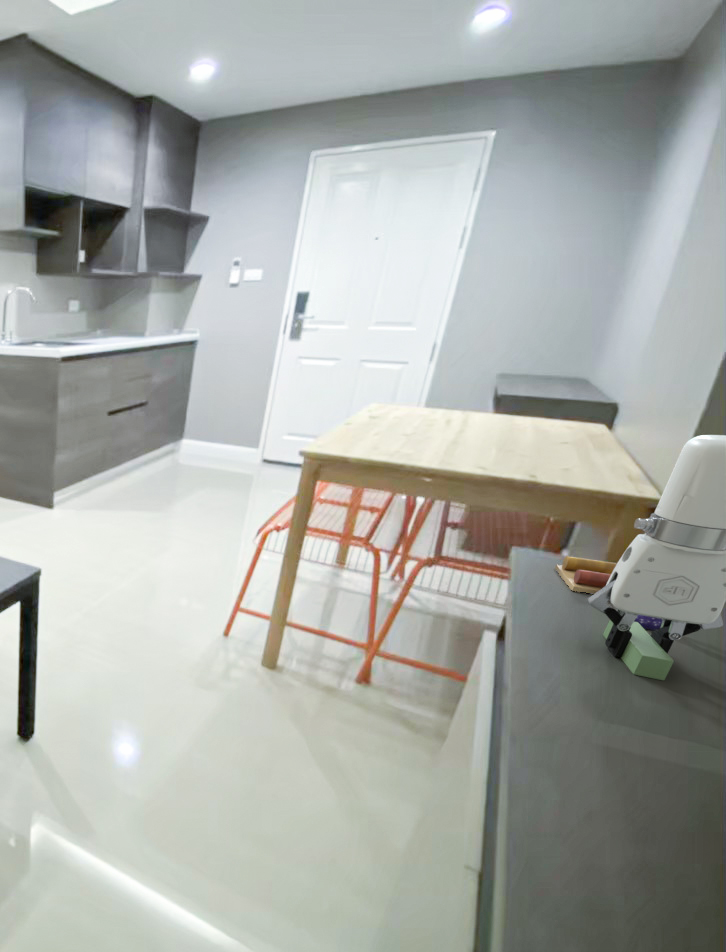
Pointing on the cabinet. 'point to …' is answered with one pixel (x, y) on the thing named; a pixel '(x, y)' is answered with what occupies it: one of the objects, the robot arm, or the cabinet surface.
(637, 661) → the bar
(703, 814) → the cabinet surface
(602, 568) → the rod stand
